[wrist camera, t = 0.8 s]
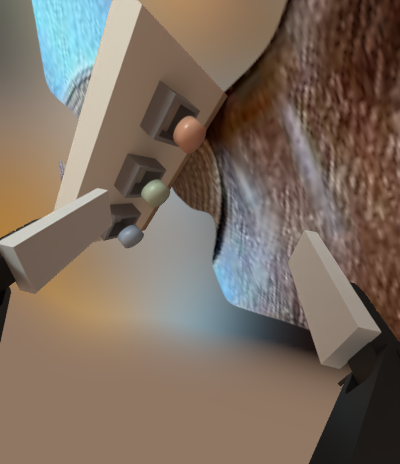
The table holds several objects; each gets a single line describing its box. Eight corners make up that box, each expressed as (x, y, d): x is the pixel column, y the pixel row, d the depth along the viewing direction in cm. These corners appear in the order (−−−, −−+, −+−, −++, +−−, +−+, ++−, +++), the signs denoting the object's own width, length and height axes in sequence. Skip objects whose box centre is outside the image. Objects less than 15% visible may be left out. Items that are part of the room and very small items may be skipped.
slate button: (132, 237, 38) (114, 242, 35) (140, 223, 36) (122, 226, 33) (138, 245, 38) (120, 250, 35) (147, 230, 36) (129, 235, 33)
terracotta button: (185, 147, 29) (168, 141, 25) (200, 121, 27) (184, 111, 24) (194, 155, 28) (178, 150, 25) (210, 129, 27) (195, 121, 23)
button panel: (126, 208, 52) (36, 218, 35) (197, 72, 36) (92, -32, 19) (152, 238, 50) (67, 263, 33) (239, 105, 33) (163, 19, 16)
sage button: (155, 198, 34) (137, 199, 30) (166, 179, 32) (148, 178, 28) (162, 206, 33) (145, 208, 30) (174, 187, 31) (156, 187, 28)
